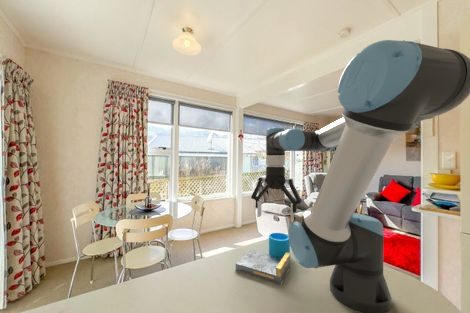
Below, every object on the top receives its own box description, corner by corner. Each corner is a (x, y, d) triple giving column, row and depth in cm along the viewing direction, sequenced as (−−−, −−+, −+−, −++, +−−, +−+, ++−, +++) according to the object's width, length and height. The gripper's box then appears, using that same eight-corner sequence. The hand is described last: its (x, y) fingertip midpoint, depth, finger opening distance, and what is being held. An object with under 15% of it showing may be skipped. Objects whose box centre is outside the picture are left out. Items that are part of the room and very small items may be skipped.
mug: (293, 261, 78) (293, 240, 78) (272, 262, 77) (272, 241, 77) (281, 247, 90) (281, 229, 90) (263, 248, 89) (263, 229, 89)
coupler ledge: (290, 266, 74) (290, 252, 74) (280, 285, 63) (280, 269, 63) (250, 255, 82) (250, 243, 82) (235, 270, 71) (235, 256, 71)
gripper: (308, 166, 81) (308, 220, 81) (250, 165, 92) (250, 212, 92) (306, 167, 74) (306, 225, 74) (243, 165, 85) (243, 216, 85)
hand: (275, 218), depth 83 cm, fingers open, 13 cm apart
